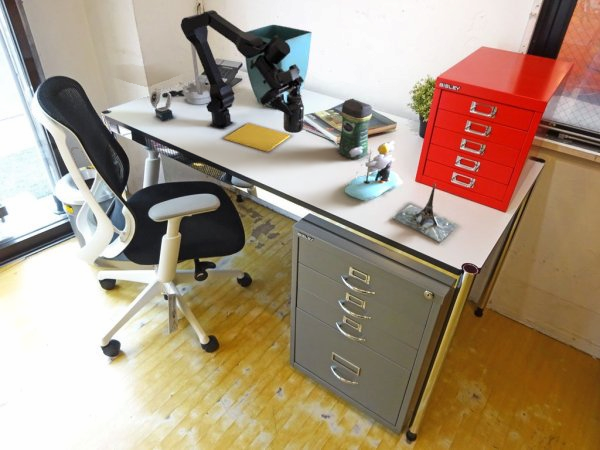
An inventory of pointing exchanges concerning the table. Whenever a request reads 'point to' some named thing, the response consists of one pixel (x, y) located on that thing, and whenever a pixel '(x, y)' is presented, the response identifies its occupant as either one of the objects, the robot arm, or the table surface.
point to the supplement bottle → (294, 114)
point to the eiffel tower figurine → (426, 220)
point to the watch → (161, 112)
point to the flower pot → (297, 55)
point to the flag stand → (196, 86)
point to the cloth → (257, 137)
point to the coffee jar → (354, 127)
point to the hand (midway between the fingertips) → (297, 112)
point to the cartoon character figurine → (374, 175)
